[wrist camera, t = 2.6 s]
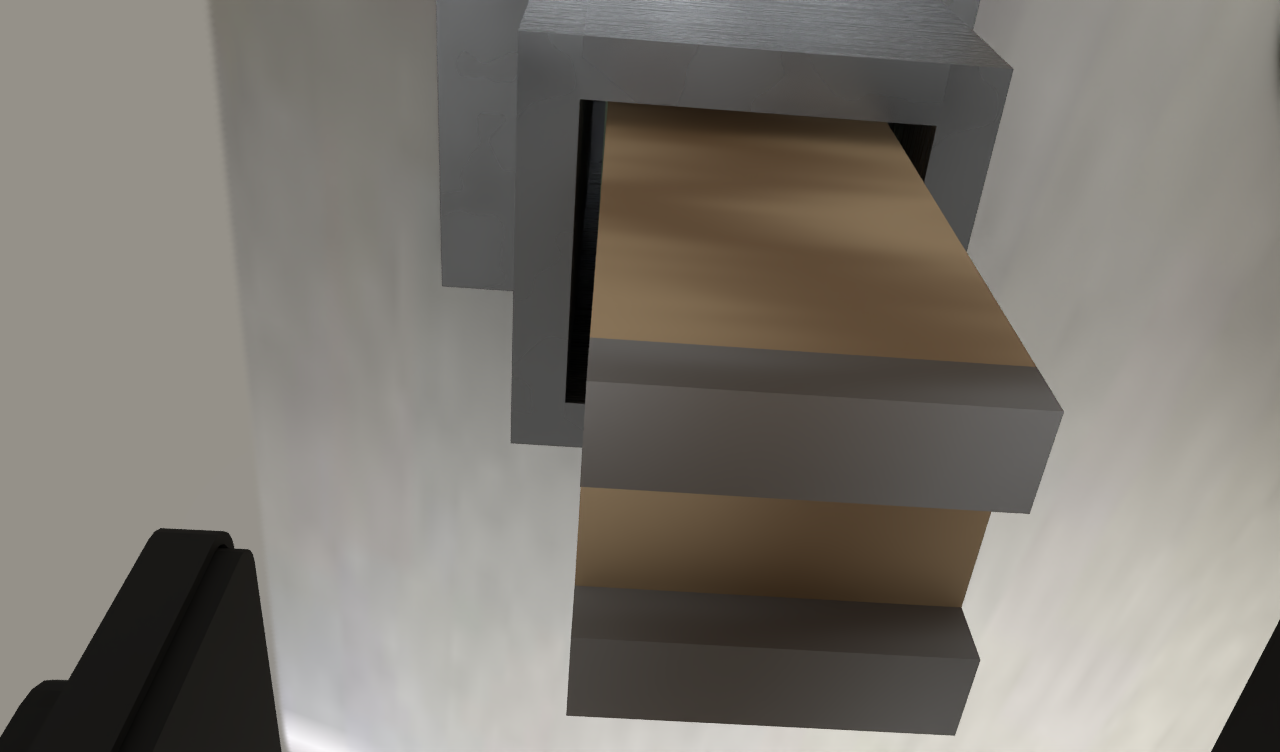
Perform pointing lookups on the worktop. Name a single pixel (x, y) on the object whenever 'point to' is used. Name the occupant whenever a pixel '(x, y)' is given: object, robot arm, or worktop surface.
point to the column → (787, 430)
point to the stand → (671, 76)
